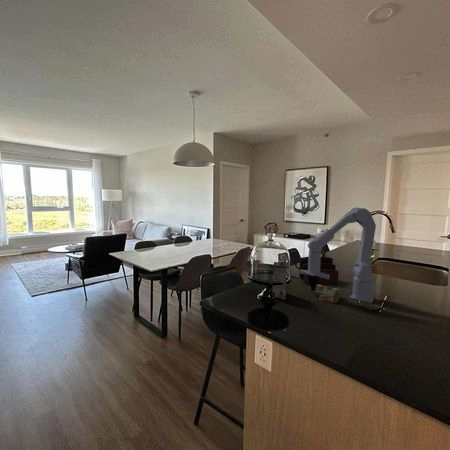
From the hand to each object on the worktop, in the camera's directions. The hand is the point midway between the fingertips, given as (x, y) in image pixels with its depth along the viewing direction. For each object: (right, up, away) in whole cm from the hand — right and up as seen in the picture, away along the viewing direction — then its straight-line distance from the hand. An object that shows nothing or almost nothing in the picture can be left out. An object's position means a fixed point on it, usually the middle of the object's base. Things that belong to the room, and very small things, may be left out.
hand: (313, 290), depth 128 cm
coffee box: (-18, -3, -1) cm, 18 cm away
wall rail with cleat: (+4, -3, -3) cm, 5 cm away
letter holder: (+10, -1, +22) cm, 24 cm away
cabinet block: (+6, -3, -5) cm, 8 cm away
